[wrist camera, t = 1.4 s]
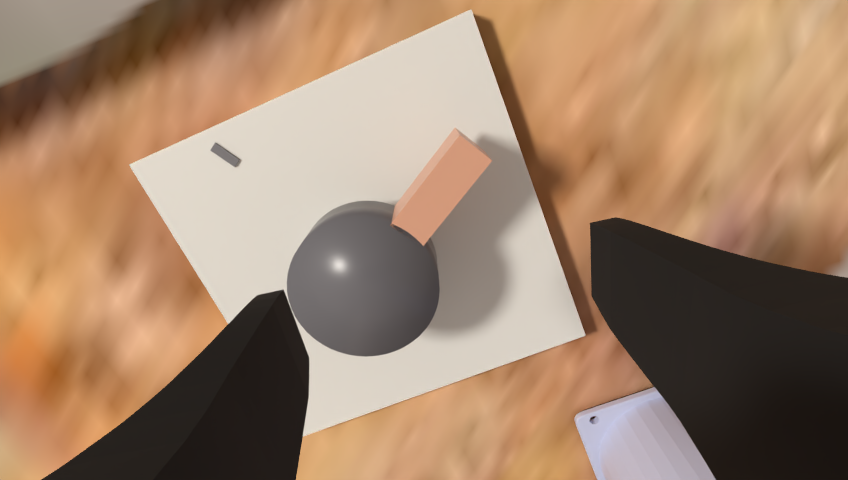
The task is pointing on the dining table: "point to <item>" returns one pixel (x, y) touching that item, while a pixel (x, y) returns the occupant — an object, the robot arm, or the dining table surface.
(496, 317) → the joystick base
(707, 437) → the robot arm
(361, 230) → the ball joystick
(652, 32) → the dining table surface
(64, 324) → the dining table surface
